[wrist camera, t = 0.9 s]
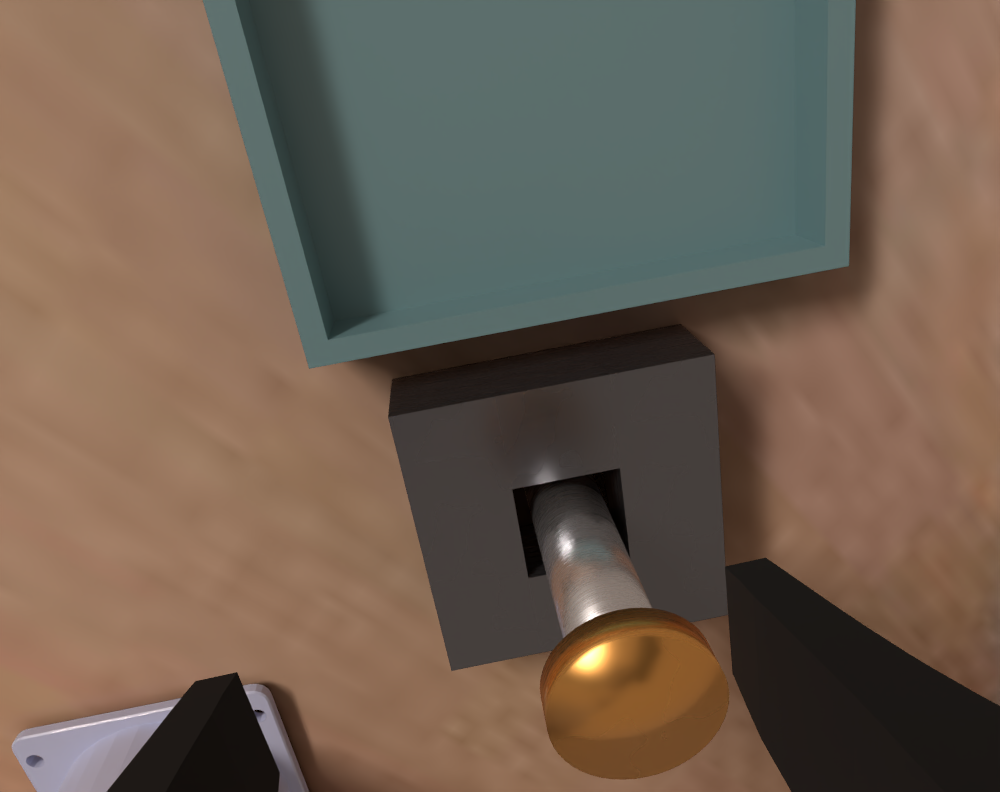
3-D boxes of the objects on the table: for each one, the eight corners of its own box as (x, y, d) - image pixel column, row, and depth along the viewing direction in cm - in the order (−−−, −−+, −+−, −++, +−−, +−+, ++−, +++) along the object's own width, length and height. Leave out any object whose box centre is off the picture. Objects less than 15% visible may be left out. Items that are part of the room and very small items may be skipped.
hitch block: (697, 562, 23) (727, 614, 21) (448, 612, 23) (451, 670, 21) (680, 324, 20) (714, 354, 18) (391, 379, 20) (388, 417, 17)
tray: (809, 249, 20) (848, 266, 18) (320, 342, 19) (309, 368, 17) (810, -413, 14) (868, -488, 12) (140, -304, 14) (97, -364, 12)
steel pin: (619, 515, 22) (732, 759, 14) (508, 537, 22) (559, 794, 14) (607, 415, 21) (725, 620, 13) (490, 437, 21) (534, 659, 13)
